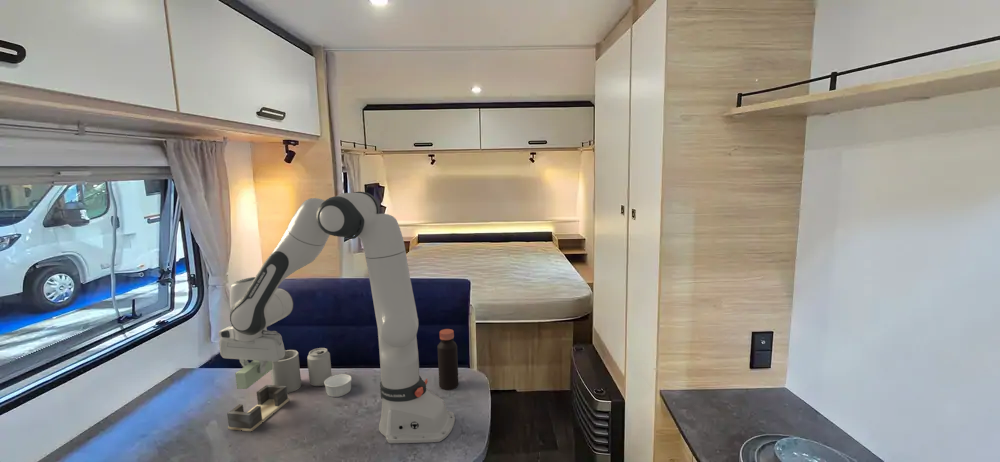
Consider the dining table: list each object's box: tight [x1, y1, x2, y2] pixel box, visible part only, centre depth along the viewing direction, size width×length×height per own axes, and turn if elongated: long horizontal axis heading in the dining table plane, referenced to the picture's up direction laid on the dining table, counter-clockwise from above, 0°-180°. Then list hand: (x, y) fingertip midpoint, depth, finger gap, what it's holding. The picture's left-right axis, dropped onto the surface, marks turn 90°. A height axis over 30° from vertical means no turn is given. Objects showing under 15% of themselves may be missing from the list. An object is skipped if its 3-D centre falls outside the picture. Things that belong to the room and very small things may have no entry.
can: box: [306, 347, 333, 387], centre depth 156 cm, size 8×8×12 cm
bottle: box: [437, 328, 459, 391], centre depth 150 cm, size 7×7×20 cm
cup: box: [270, 349, 302, 394], centre depth 152 cm, size 9×9×12 cm
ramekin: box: [323, 373, 352, 398], centre depth 150 cm, size 9×9×4 cm
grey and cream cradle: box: [226, 384, 290, 432], centre depth 136 cm, size 8×17×5 cm, turn 170°
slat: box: [235, 360, 273, 390], centre depth 135 cm, size 3×13×5 cm, turn 175°
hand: (255, 371), depth 135 cm, fingers closed on slat, 3 cm apart
